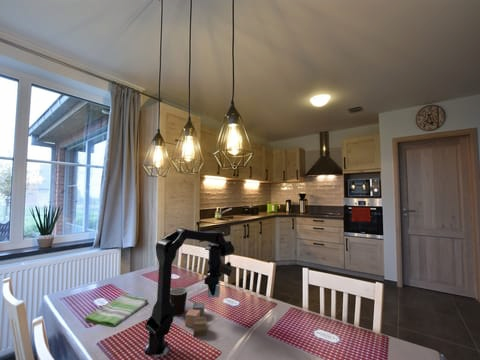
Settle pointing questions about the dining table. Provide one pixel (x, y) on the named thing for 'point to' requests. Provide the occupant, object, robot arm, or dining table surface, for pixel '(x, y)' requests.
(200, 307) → the grey block
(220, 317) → the dining table surface
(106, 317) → the dish towel
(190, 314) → the terracotta block
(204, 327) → the walnut block
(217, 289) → the grey cube
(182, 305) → the coffee mug
